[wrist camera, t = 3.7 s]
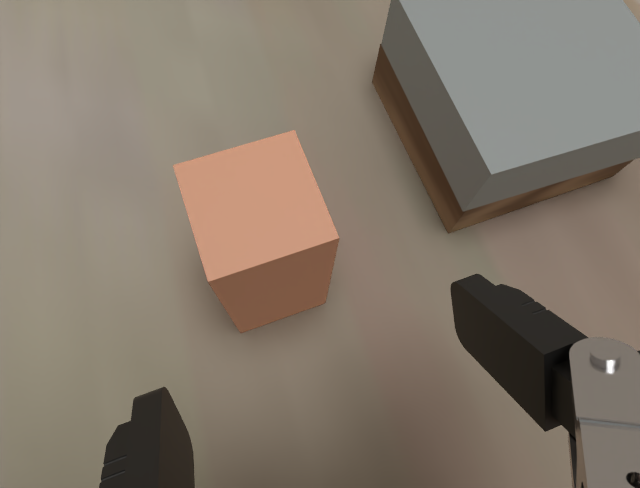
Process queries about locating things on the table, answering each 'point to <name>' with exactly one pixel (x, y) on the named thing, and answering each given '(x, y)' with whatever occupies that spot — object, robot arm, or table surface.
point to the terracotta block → (260, 229)
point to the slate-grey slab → (519, 88)
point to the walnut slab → (433, 172)
